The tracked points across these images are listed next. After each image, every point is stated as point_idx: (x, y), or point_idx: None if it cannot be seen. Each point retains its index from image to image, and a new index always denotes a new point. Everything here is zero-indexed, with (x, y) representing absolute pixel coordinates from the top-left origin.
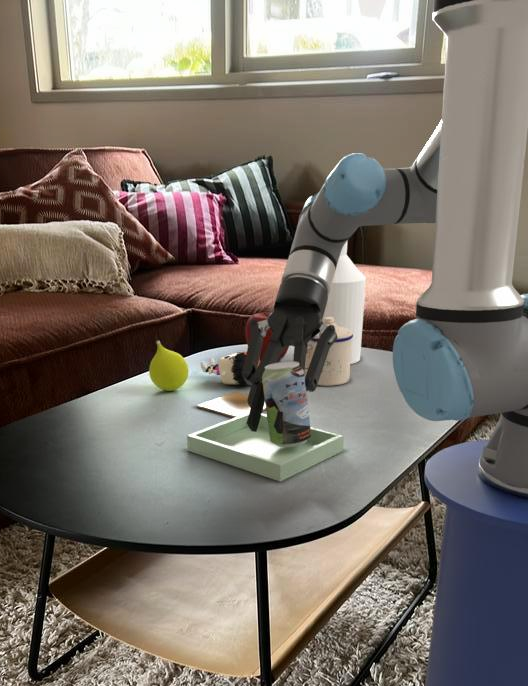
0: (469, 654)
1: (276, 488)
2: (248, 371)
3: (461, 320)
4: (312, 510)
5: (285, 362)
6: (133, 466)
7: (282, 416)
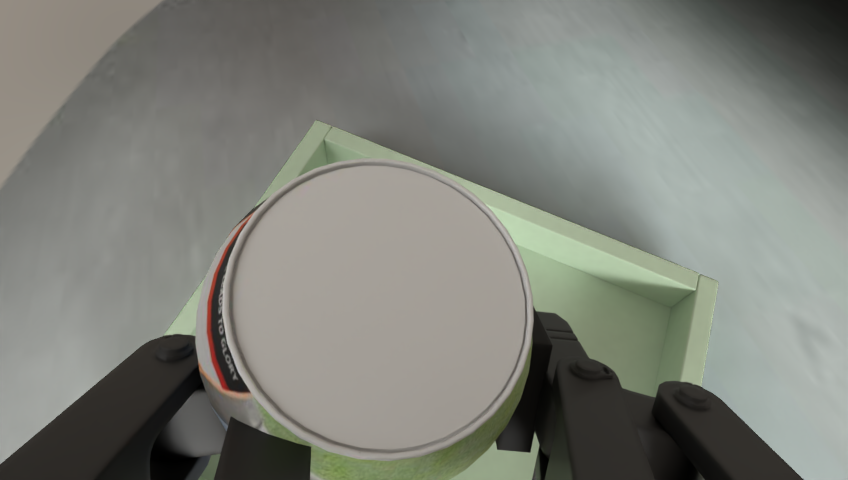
0: None
1: (323, 118)
2: (685, 410)
3: None
4: (215, 37)
5: (386, 432)
6: (747, 162)
7: None
